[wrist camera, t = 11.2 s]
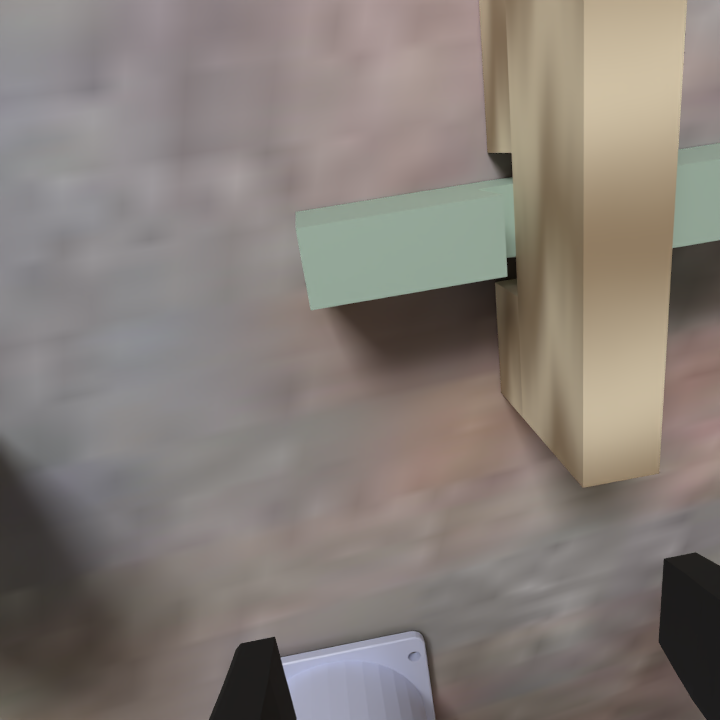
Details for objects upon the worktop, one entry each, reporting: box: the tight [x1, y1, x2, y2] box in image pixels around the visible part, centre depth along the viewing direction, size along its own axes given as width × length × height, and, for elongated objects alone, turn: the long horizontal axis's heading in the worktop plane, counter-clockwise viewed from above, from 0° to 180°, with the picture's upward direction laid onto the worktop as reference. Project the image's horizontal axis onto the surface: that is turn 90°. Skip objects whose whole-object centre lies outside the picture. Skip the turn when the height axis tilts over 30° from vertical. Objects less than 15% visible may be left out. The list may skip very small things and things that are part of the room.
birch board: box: [479, 0, 687, 488], centre depth 15 cm, size 12×2×6 cm, turn 8°
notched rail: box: [296, 143, 720, 310], centre depth 16 cm, size 2×14×4 cm, turn 98°
